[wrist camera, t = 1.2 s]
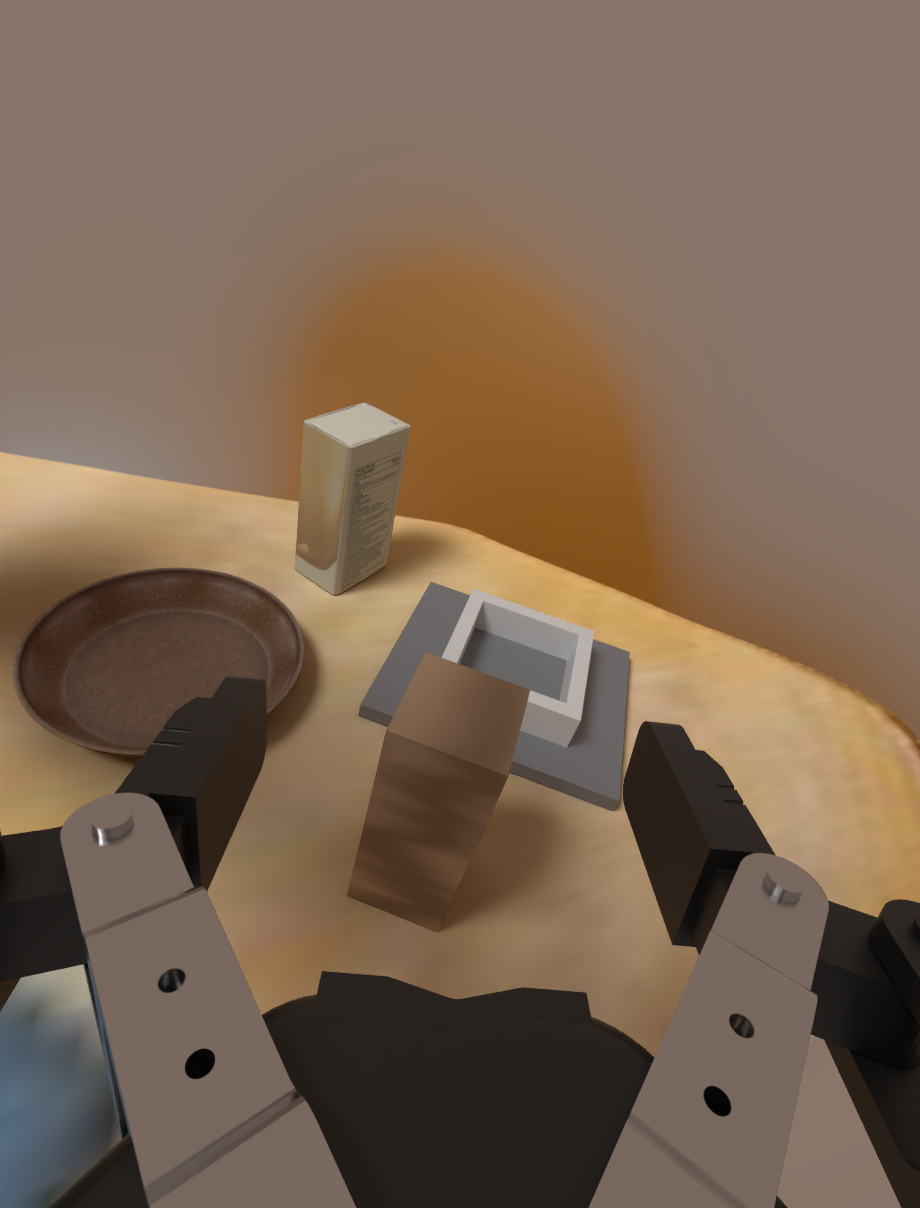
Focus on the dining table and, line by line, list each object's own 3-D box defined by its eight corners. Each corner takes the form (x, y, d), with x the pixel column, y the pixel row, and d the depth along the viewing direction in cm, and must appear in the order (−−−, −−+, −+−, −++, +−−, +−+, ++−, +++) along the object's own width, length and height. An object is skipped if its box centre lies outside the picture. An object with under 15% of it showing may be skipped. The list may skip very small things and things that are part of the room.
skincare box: (348, 542, 51) (367, 399, 44) (388, 567, 50) (415, 424, 42) (289, 571, 46) (300, 416, 39) (331, 599, 45) (351, 444, 38)
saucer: (23, 822, 28) (10, 787, 27) (21, 615, 38) (11, 580, 36) (333, 743, 36) (338, 711, 34) (267, 586, 45) (268, 556, 43)
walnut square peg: (347, 895, 29) (386, 730, 22) (381, 816, 32) (425, 651, 25) (437, 932, 28) (508, 776, 21) (462, 847, 32) (530, 689, 25)
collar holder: (358, 715, 37) (366, 675, 35) (428, 591, 48) (437, 555, 46) (613, 811, 36) (636, 775, 34) (624, 661, 47) (643, 627, 45)
